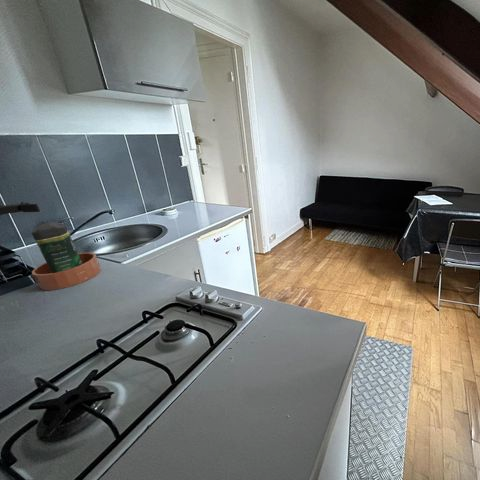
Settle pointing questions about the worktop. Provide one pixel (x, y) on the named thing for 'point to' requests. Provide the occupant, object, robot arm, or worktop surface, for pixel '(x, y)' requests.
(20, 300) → the worktop surface
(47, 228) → the coffee jar
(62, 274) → the bowl
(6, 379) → the worktop surface
